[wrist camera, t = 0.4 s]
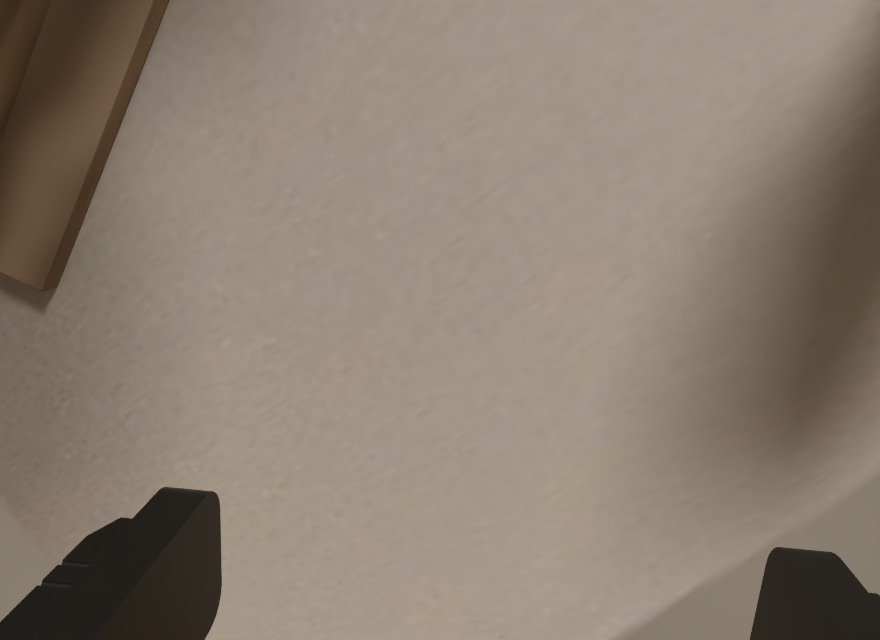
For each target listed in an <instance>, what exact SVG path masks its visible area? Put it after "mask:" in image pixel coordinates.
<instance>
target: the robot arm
mask: <svg viewBox="0 0 880 640" xmlns="http://www.w3.org/2000/svg"><path fill="white" fill-rule="evenodd" d="M221 586H222V576H221V529H220V503H219V498H218V496H217V494H216V493H215V492H212V491H202V490H191V489H181V488H170V487H163V488H162V489H160V490H159V491H158V492H157V493H156V494H155V495H154V496H153V497H152V498H151V499H150V500H149V502H148V503H147V504H146V505H145V506H144V507H143V508H142V509H141V510H140V511H139V512H138V513H137V514H136V516H135V517H134V518H133V519H130V518H119V519H117V520H115V521H114V522H112V523H110V524H108V525H106V526H104V527H103V528H101V529H99V530H97V531H95V532H93V533H92V534H90V535H88V536H86V537H85V538H84V539H83V540H82V541H81V542H80V543H79V544H78V545H77V546H76V547H75V548H74V549H73V550H72V551H71V552H70V553H69V554H68V555H67V556H66V557H65V558H64V559H63V562H62V565H57V566H56V567H55V568H54V569H53V570H52V571H51V572H50V573H49V574H48V575H47V576H46V577H45V578H44V579H43V581H42V584H41V586H36V587H35V588H34V590H32V591H31V592H30V593H29V594H28V595H27V596H26V597H25V598H24V599H23V600H22V601H21V602H20V603H19V604H18V605H17V606H16V607H15V608H14V609H13V610H12V611H11V612H10V613H9V614H8V615H7V616H6V617H5V618H4V619H3V620H2V621H1V622H0V640H205V638H206V636H207V634H208V633H209V631H210V629H211V627H212V625H213V622H214V619H215V617H216V613H217V610H218V606H219V601H220V595H221ZM750 640H880V596H879V595H878V594H874V593H868V592H867V590H866V589H865V588H864V587H863V585H862V584H861V583H860V582H859V581H858V579H857V578H856V577H855V576H854V574H853V573H852V572H851V571H850V570H849V568H848V567H847V566H846V565H845V563H844V562H843V561H842V560H841V559H840V558H839V557H838V556H837V555H836V554H834V553H832V552H824V551H813V550H802V549H792V548H782V547H776V548H774V549H773V550H772V551H771V553H770V554H769V557H768V559H767V563H766V567H765V572H764V576H763V581H762V585H761V590H760V595H759V600H758V604H757V609H756V613H755V618H754V623H753V627H752V632H751V636H750Z"/></svg>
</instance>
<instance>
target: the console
mask: <svg viewBox="0 0 880 640" xmlns="http://www.w3.org/2000/svg"><path fill="white" fill-rule="evenodd" d="M168 1H169V0H0V272H1V273H4V274H6V275H8V276H10V277H12V278H14V279H16V280H18V281H21V282H23V283H25V284H27V285H29V286H31V287H33V288H35V289H38V290H40V291H45V290H48V289H52V288H55V287H57V286H58V283H59V281H60V278H61V276H62V273H63V271H64V268H65V265H66V263H67V260H68V258H69V255H70V253H71V250H72V248H73V245H74V242H75V240H76V237H77V235H78V232H79V230H80V227H81V224H82V222H83V219H84V217H85V214H86V212H87V209H88V206H89V204H90V201H91V199H92V196H93V194H94V191H95V188H96V186H97V183H98V181H99V178H100V176H101V173H102V170H103V168H104V165H105V163H106V160H107V158H108V155H109V152H110V150H111V147H112V145H113V142H114V140H115V137H116V134H117V132H118V129H119V127H120V124H121V122H122V119H123V117H124V114H125V111H126V109H127V106H128V104H129V101H130V99H131V96H132V93H133V91H134V88H135V86H136V83H137V81H138V78H139V75H140V73H141V70H142V68H143V65H144V63H145V60H146V57H147V55H148V52H149V50H150V47H151V45H152V42H153V39H154V37H155V34H156V32H157V29H158V27H159V24H160V21H161V19H162V16H163V14H164V11H165V9H166V6H167V3H168Z"/></svg>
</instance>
